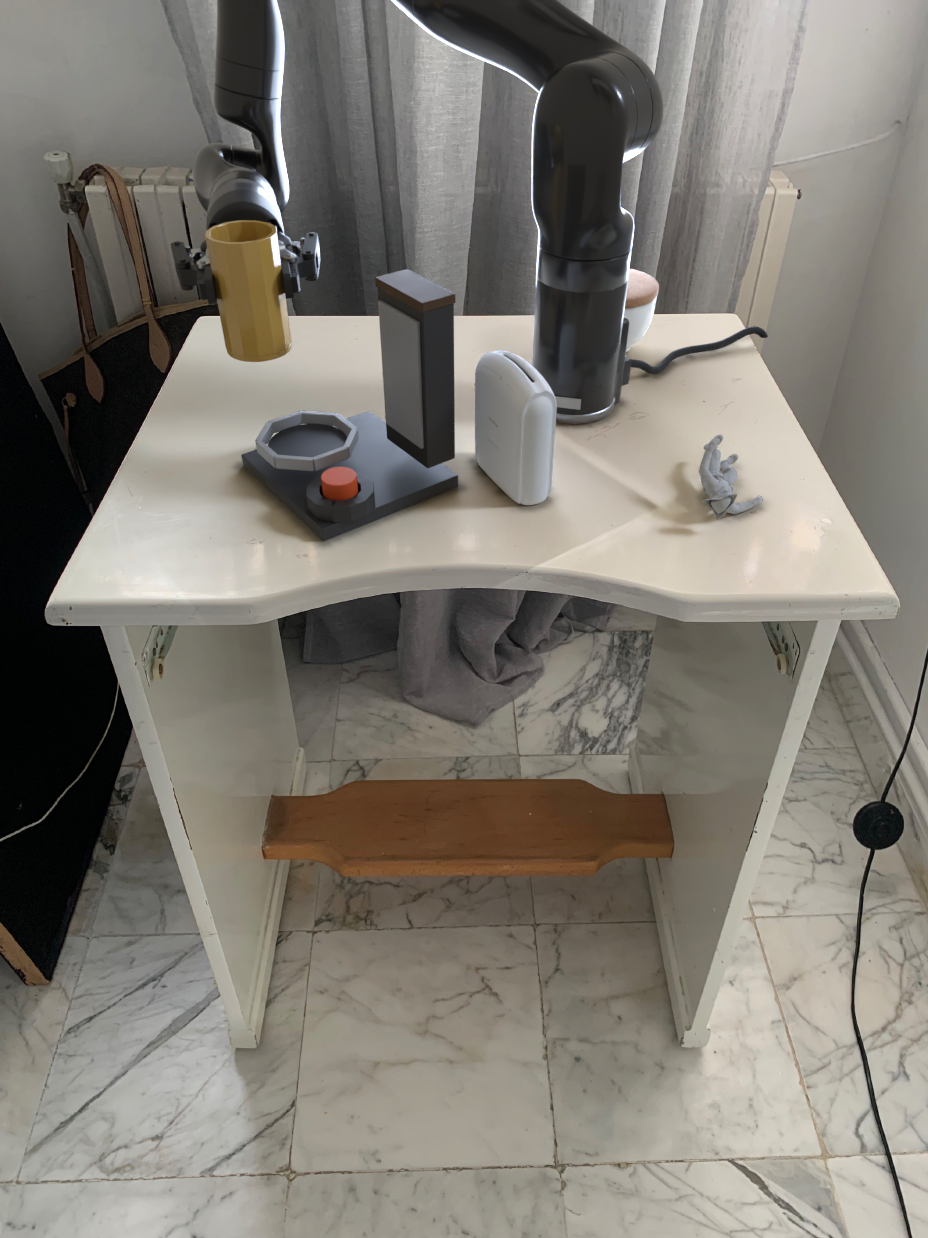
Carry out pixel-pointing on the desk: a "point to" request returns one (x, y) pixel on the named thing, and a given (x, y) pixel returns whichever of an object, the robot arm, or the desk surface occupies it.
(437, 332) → the coffee maker
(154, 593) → the desk surface
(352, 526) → the brewer base
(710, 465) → the soldier figure
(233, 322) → the cup
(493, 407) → the photo printer
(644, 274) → the trinket box
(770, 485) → the desk surface
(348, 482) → the button
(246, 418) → the desk surface
